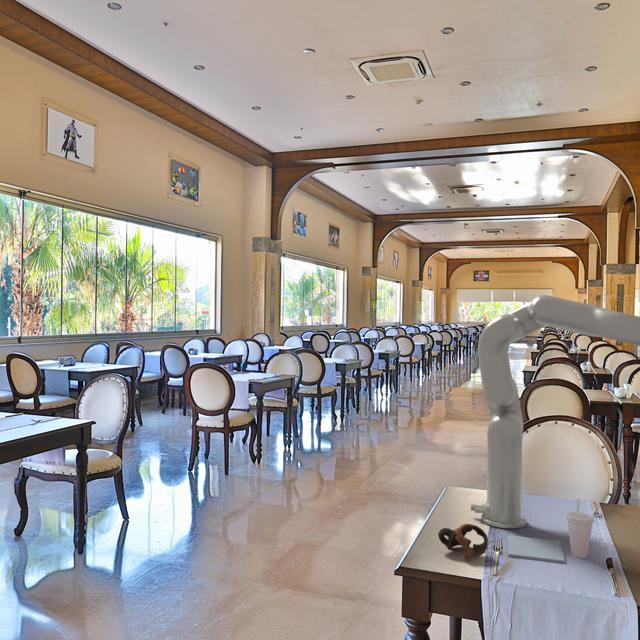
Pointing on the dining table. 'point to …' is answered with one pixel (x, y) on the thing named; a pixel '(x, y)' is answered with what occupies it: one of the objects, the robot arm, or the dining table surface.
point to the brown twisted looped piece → (464, 540)
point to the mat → (535, 549)
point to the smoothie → (579, 532)
